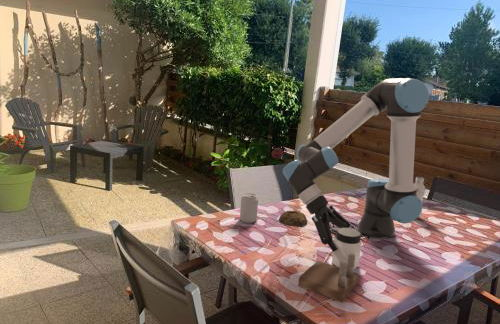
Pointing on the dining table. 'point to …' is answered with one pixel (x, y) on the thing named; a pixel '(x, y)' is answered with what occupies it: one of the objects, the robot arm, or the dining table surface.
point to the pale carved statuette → (420, 189)
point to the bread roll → (293, 218)
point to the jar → (348, 245)
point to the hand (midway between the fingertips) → (350, 251)
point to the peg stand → (331, 279)
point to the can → (249, 208)
